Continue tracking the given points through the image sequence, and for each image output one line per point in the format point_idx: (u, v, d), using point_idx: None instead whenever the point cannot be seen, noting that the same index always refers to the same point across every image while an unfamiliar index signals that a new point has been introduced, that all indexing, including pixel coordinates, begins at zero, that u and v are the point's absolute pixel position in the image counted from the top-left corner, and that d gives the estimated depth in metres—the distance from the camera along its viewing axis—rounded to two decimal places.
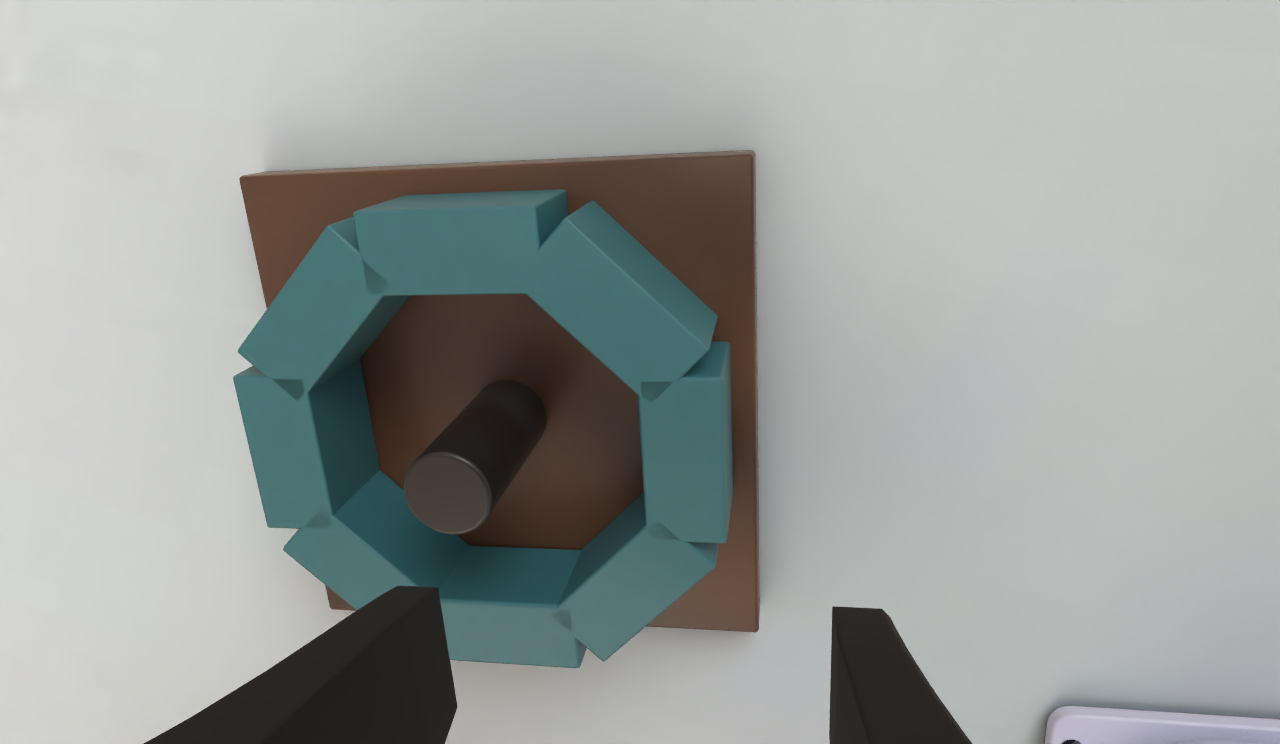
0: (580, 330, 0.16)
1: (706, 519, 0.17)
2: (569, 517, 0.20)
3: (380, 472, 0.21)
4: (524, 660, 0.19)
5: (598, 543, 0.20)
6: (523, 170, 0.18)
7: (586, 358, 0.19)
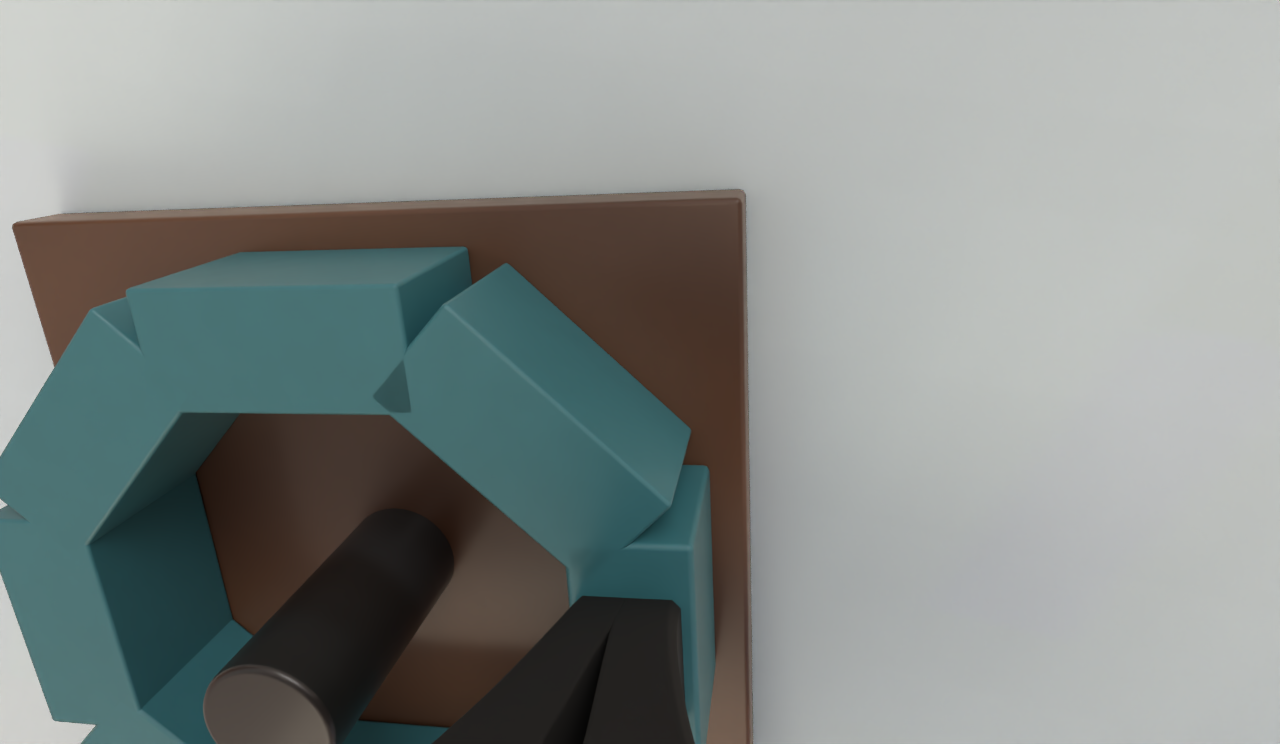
0: (475, 471, 0.10)
1: None
2: None
3: (232, 624, 0.15)
4: None
5: None
6: (405, 218, 0.12)
7: None
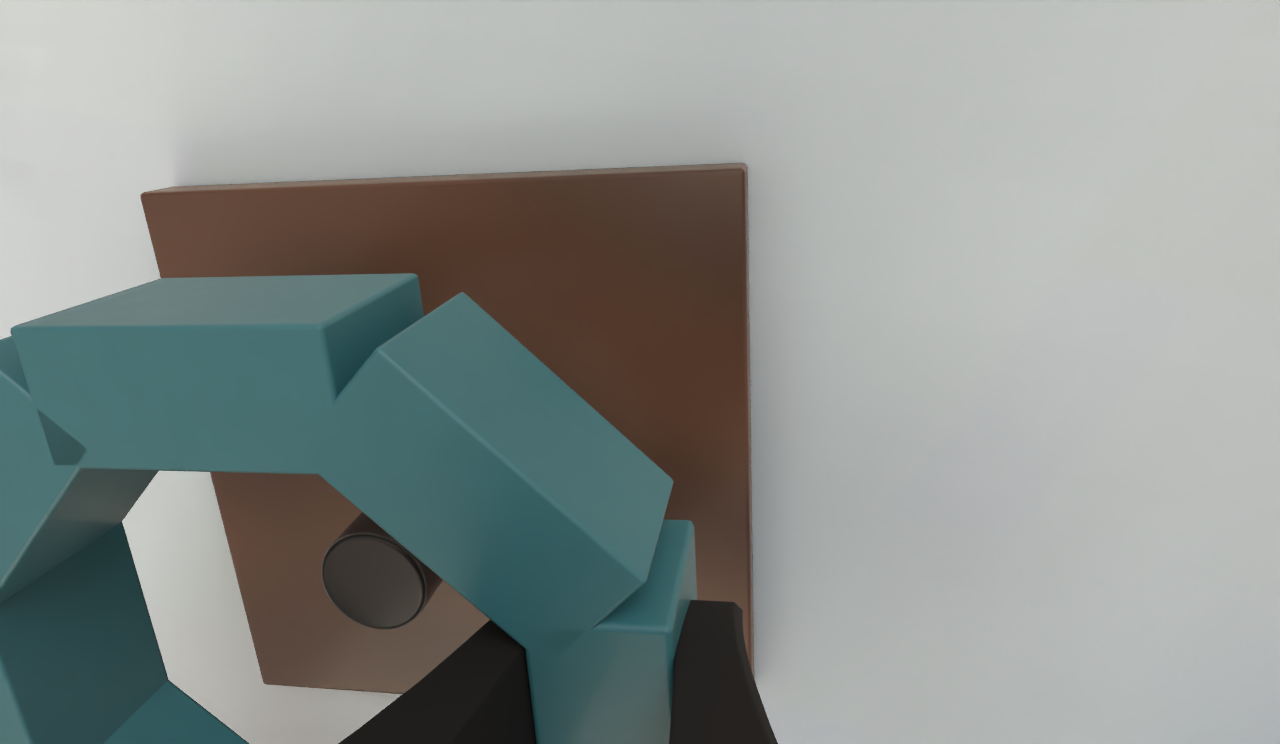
0: (418, 539, 0.09)
1: None
2: None
3: (167, 686, 0.14)
4: None
5: None
6: (471, 187, 0.15)
7: None
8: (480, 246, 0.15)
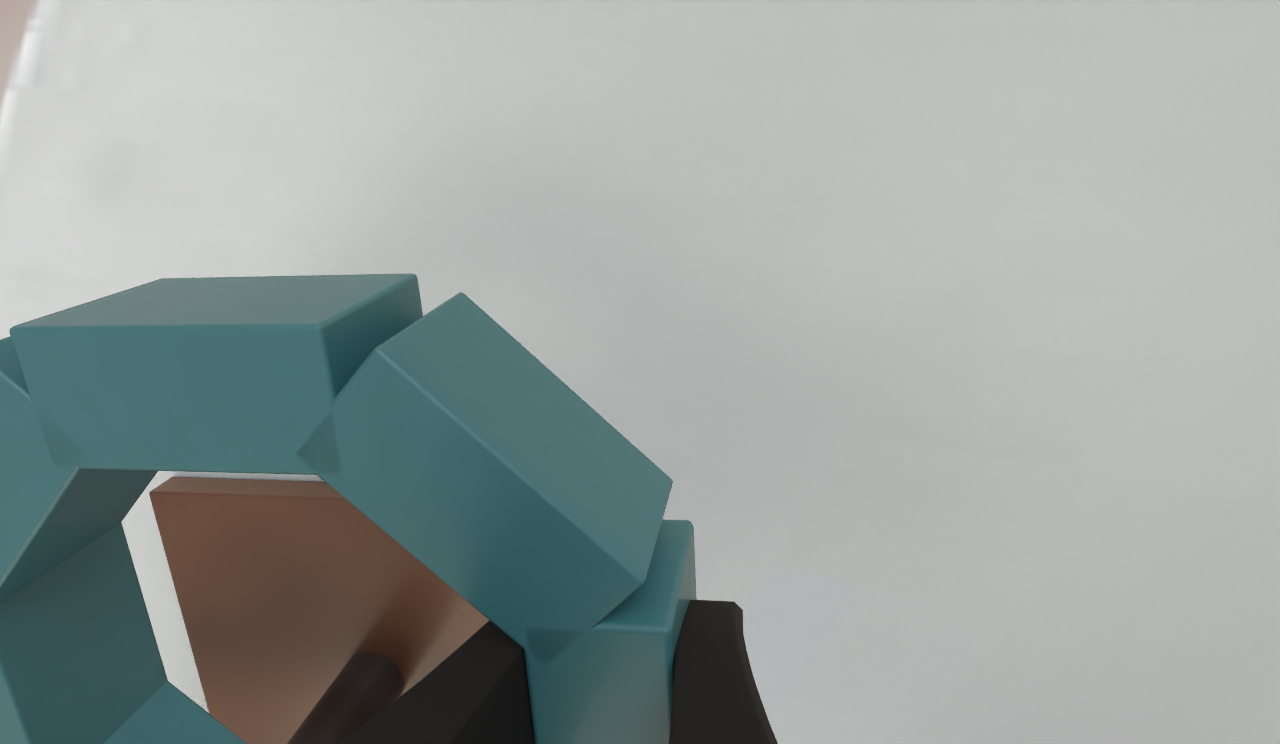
0: (417, 539, 0.09)
1: None
2: None
3: (166, 686, 0.14)
4: None
5: None
6: None
7: (432, 641, 0.23)
8: (381, 540, 0.22)
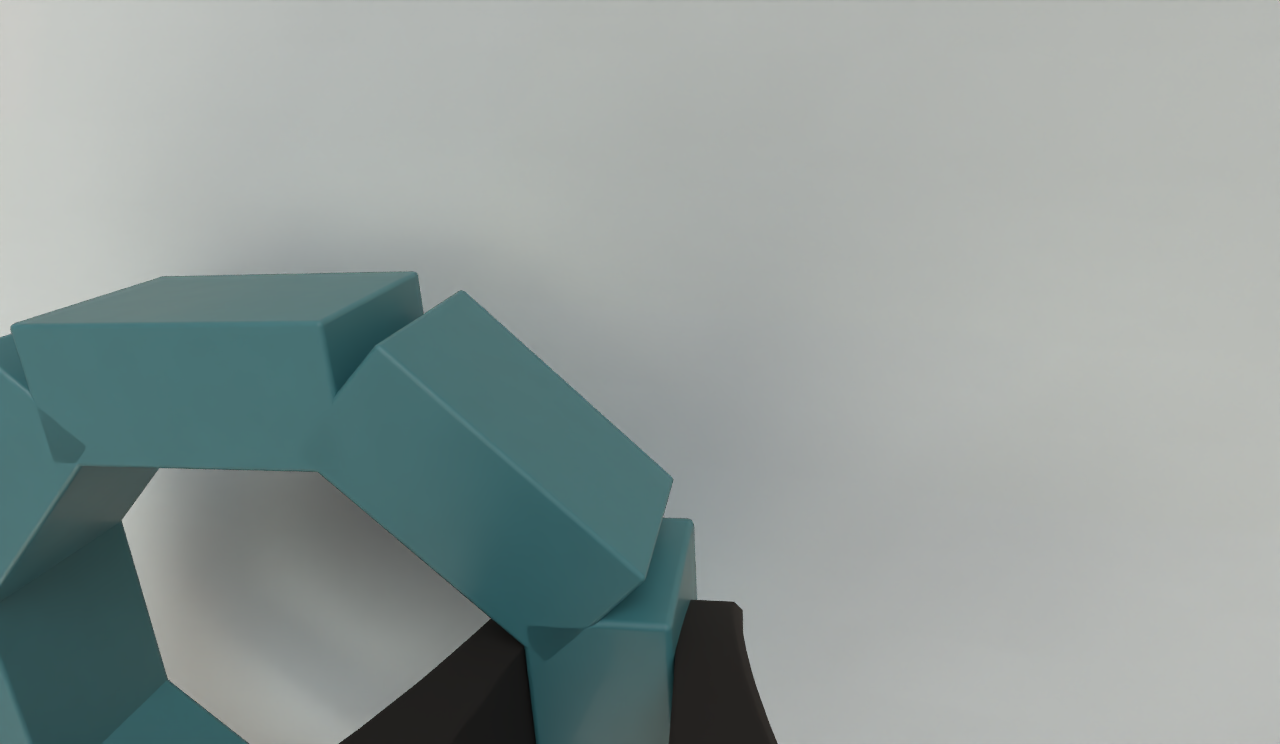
0: (418, 536, 0.09)
1: None
2: None
3: (166, 685, 0.14)
4: None
5: None
6: None
7: None
8: None
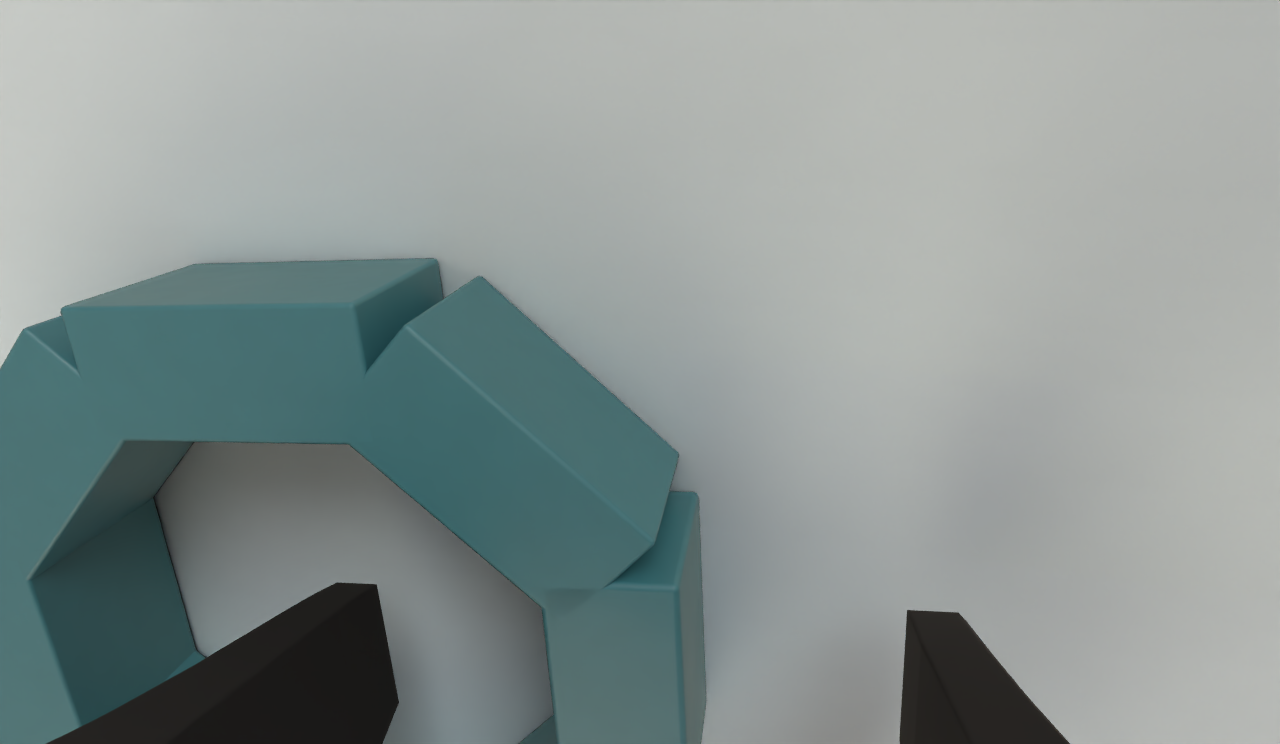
0: (442, 504, 0.10)
1: None
2: None
3: (195, 655, 0.14)
4: None
5: None
6: None
7: None
8: None
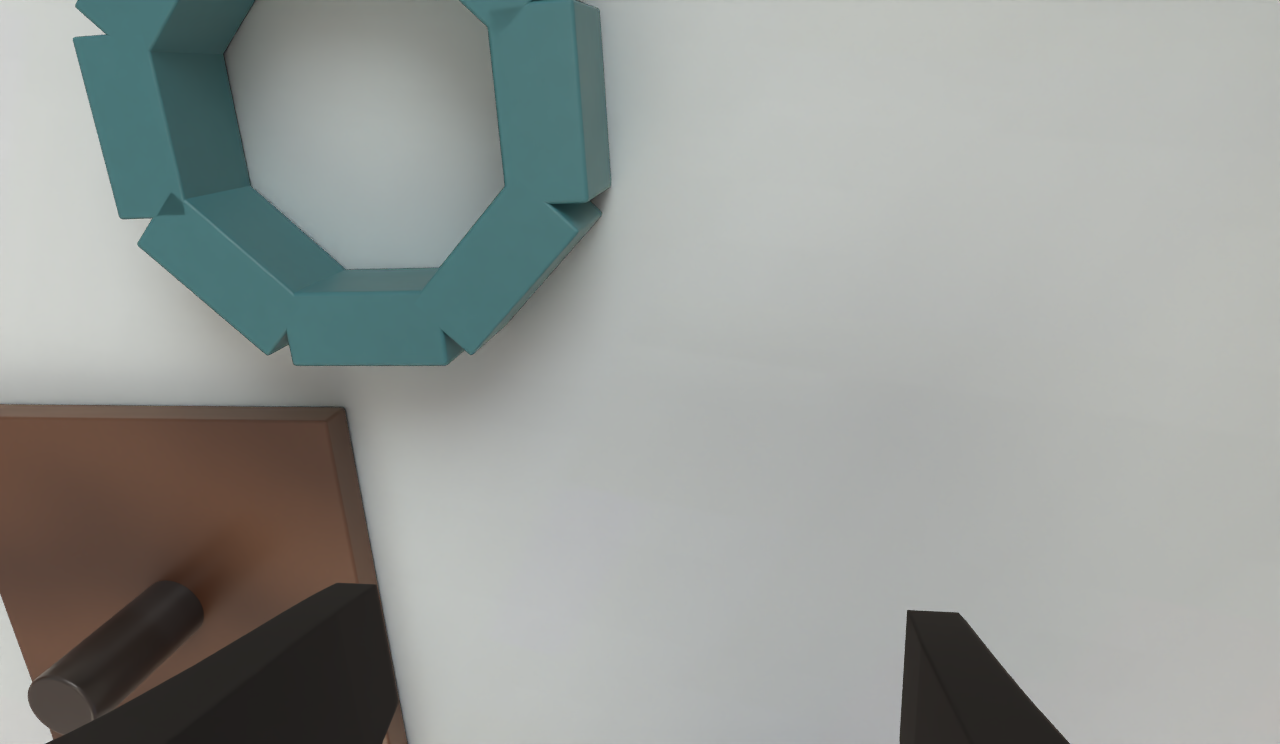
0: None
1: (565, 173, 0.16)
2: None
3: (250, 187, 0.20)
4: (390, 359, 0.18)
5: None
6: (153, 424, 0.21)
7: (225, 567, 0.23)
8: (164, 462, 0.22)
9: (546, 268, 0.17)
